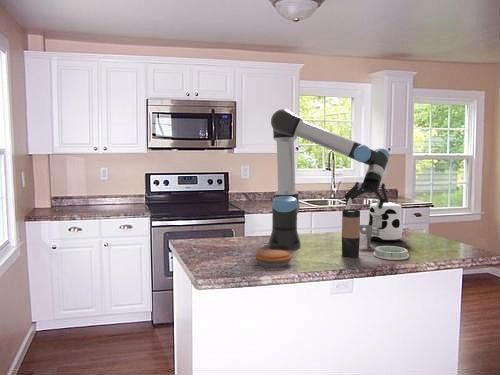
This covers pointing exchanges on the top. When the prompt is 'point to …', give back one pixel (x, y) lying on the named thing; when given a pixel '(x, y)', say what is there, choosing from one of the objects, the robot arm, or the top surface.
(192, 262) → the top surface
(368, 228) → the mechanical component
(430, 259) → the top surface
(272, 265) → the pie
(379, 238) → the milk container
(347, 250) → the travel mug
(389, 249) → the pale green round dish
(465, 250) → the top surface
